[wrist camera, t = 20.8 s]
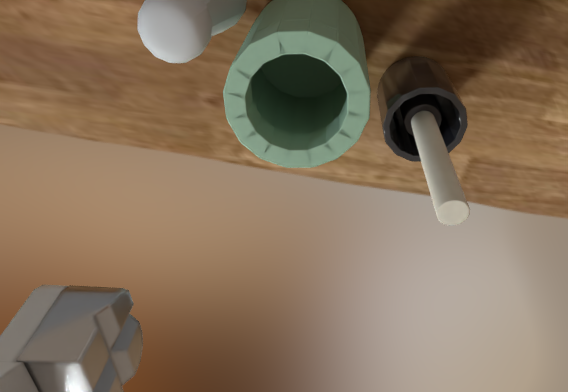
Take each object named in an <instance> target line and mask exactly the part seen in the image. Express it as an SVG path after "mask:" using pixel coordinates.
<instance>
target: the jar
mask: <svg viewBox="0 0 568 392" xmlns="http://www.w3.org/2000/svg"><path fill="white" fill-rule="evenodd" d="M370 92H371V90H370V83H369V76H368V69H367V62H366V55H365V48H364V41H363V36H362V34H361V30H360V27H359V24H358V22H357V19H356V17H355V16H354V14H353V13H352V11H351V10H350V9H349V7H348V6H347V5H346V4H345V3H344V2H342V1H341V0H272V1H271V2H270V3H269V4H268V5H267V6H266V7H265V8H264V9H263V11H262V12H261V13H260V15H259V16H258V17H257V19H256V20H255V22H254V24H253V26H252V27H251V29H250V31H249V33H248V35H247V37H246V39H245V41H244V42H243V44H242V46H241V48H240V50H239V52H238V54H237V55H236V57H235V59H234V61H233V63H232V65H231V67H230V70H229V73H228V77H227V80H226V84H225V87H224V90H223V96H224V104H225V111H226V118H227V120H228V122H229V124H230V126H231V127H232V129H233V131H234V133H235V134H236V136H237V138H238V140H239V141H240V142H241V143H242V144H243V145H244V146H245V147H247V148H248V149H249V150H250V151H252V152H253V153H254V154H255V155H256V156H258V157H259V158H261V159H263V160H266V161H268V162H271V163H274V164H277V165H280V166H283V167H287V168H311V167H316V166H318V165H321V164H324V163H327V162H329V161H332V160H335V159H337V158H339V157H340V156H341V155H342V154H343V153H344V152H346V151H347V150H348V149H349V148H350V147H351V146H352V145H354V144H355V143H356V142H357V141H358V139H359V137H360V135H361V133H362V131H363V129H364V127H365V125H366V123H367V121H368V119H369V116H370Z"/></svg>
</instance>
